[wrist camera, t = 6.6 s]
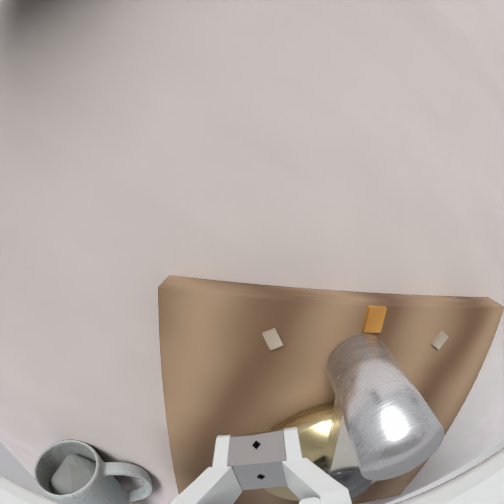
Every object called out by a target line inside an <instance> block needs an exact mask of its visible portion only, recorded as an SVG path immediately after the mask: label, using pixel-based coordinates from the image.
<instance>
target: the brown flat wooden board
mask: <svg viewBox="0 0 504 504" xmlns="http://www.w3.org/2000/svg"><path fill="white" fill-rule="evenodd" d="M158 308H159V335H160V353H161V367H162V380H163V391H164V401H165V410H166V418H167V426H168V434H169V441H170V447H171V454H172V460H173V466H174V472H175V477H176V483H177V488H178V493H179V494H180V493H182V492H183V491H184V490H185V489H186V488H187V487H188V486H189V485H190V484H191V483H192V482H193V481H195V480H196V479H197V478H198V477H199V476H200V475H201V474H202V473H203V472H204V471H205V470H206V469H207V468H208V467H212V465H213V458H214V451H215V443H216V438H217V436H218V435H233V434H248V433H257V432H264V431H270V430H271V429H272V428H273V427H275V426H276V425H277V424H279V423H280V422H282V421H283V420H285V419H286V418H288V417H290V416H292V415H294V414H296V413H298V412H300V411H303V410H305V409H308V408H311V407H314V406H317V405H320V404H324V403H328V402H333V401H335V393H334V390H333V388H332V385H331V382H330V379H329V376H328V373H327V369H326V365H327V360H328V357H329V355H330V354H331V352H332V351H333V349H334V348H335V347H336V346H337V345H338V344H339V343H341V342H342V341H343V340H345V339H347V338H349V337H351V336H354V335H358V334H371V335H374V336H376V337H378V338H379V339H381V341H382V342H383V343H384V344H385V346H386V347H387V348H388V350H389V351H390V353H391V354H392V355H393V357H394V358H395V359H396V361H397V362H398V363H399V365H400V366H401V368H402V369H403V370H404V372H405V373H406V375H407V376H408V377H409V379H410V380H411V382H412V383H413V384H414V386H415V387H416V389H417V390H418V391H419V393H420V394H421V396H422V397H423V399H424V400H425V402H426V403H427V404H428V406H429V407H430V409H431V410H432V412H433V413H434V415H435V416H436V418H437V419H438V421H439V422H440V424H441V425H442V427H443V429H444V435H445V434H446V432H447V431H448V429H449V427H450V426H451V424H452V422H453V421H454V419H455V417H456V416H457V414H458V412H459V411H460V409H461V407H462V405H463V403H464V402H465V400H466V398H467V396H468V394H469V392H470V390H471V388H472V386H473V384H474V382H475V380H476V378H477V376H478V374H479V372H480V369H481V367H482V365H483V363H484V360H485V358H486V356H487V353H488V351H489V348H490V346H491V343H492V341H493V338H494V335H495V333H496V330H497V327H498V324H499V321H500V318H501V315H502V312H503V309H504V306H502V305H500V304H499V303H497V302H495V301H493V300H492V299H490V298H488V297H453V296H424V295H402V294H382V293H364V292H348V291H333V290H319V289H306V288H293V287H281V286H269V285H258V284H247V283H236V282H226V281H216V280H206V279H197V278H187V277H178V276H168V277H167V278H166V279H165V281H164V282H163V283H162V284H161V285H160V286H159V287H158ZM428 459H429V458H428ZM428 459H427V460H428ZM427 460H426V461H427ZM426 461H424V462H423V463H422V464H420V465H419V466H417V467H416V468H414V469H412V470H411V471H409V472H407V473H405V474H402V475H400V476H397V477H394V478H391V479H386V480H378V481H376V482H374V483H373V484H371V485H370V486H369V487H368V488H367V489H366V490H365V491H364V492H362V493H361V494H359V495H357V496H355V497H353V498H351V502H352V504H358V503H364V502H369V501H374V500H379V499H384V498H388V497H392V496H396V495H400V494H401V493H402V491H403V490H404V489H405V488H406V487H407V486H408V484H409V483H410V482H411V481H412V479H413V478H414V477H415V476H416V474H417V473H418V472H419V471H420V469H421V468H422V467H423V465H424V464H425V463H426ZM299 502H300V501H294V500H288V499H284V498H280V497H278V496H275V495H273V494H271V493H269V492H268V491H266V490H265V489H264V488H260V489H250V490H242V493H241V494H240V495H239V497H238V498H237V499H236V501H235V502H234V503H233V504H299Z"/></svg>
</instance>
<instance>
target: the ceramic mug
mask: <svg viewBox="0 0 504 504" xmlns="http://www.w3.org/2000/svg"><path fill="white" fill-rule="evenodd" d="M113 475H125V476H132V477H136V478H140V479H142V480H144V481H143V484H144V486H143V487H141V488H138V489H135V490H130V491H125V490H124V489H123V487H122V486H121V484H120V483H119V482H118V481H117V479H116V478H115V477H114V476H113ZM34 477H35V481H36V483H37V485H38V487H39V488H40V489H41V491H42V492H44V493H45V494H46V495H47V496H48V497H50V498H51V499H54V500H56V501H59V502H62V503H64V504H128V502H133V501H138V500H142V499H144V498H147V497H148V496H149V495H150V494H151V493H152V491H153V486H152V482H151V477H150V475H149V474H148V473H147V471H146V470H144V469H143V468H142V467H139V466H137V465H134V464H131V463H126V462H103V460H102V459H101V457H100V456H99V455H98V453H97V452H96V451H95V450H94V449H93V448H92V447H91V446H90V445H88V444H86V443H84V442H82V441H78V440H63V441H60V442H57V443H54V444H52V445H51V446H49V447H48V448H47V449H45V450H44V451H43V452H42V454H41V455H40V456H39V457H38V460H37V462H36V464H35V468H34Z"/></svg>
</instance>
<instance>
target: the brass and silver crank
mask: <svg viewBox="0 0 504 504" xmlns="http://www.w3.org/2000/svg"><path fill="white" fill-rule="evenodd" d="M326 369H327V373H328V376H329V379H330V382H331V385H332V388H333V390H334V393H335V401H333V402H328V403H324V404H320V405H317V406H314V407H311V408H308V409H305V410H303V411H300V412H298V413H296V414H294V415H292V416H290V417H288V418H286V419H285V420H283V421H282V422H280V423H279V424H277V425H276V426H275V427H273V428H272V429H271V430H278V429H285V428H291V427H297V429H298V435H299V441H300V447H301V453H302V458H307V459H309V460H310V461H311V462H312V463H314V464H315V465H316V466H318V467H319V468H320V469H321V470H323V471H324V472H325V473H327V474H328V475H329V476H331V477H332V478H333V479H335V480H336V481H337V482H339V483H340V484H342V485H343V486H344V487H346V488H347V489H348V491H349V495H350V499H351V498H353V497H355V496H357V495H359V494H361V493H362V492H364V491H365V490H366V489H367V488H368V487H369V486H370V485H371V484H373V483H374V482H376V481H378V480H386V479H391V478H394V477H397V476H400V475H402V474H405V473H407V472H409V471H411V470H412V469H414V468H416V467H417V466H419V465H420V464H422V463H423V462H424V461H426V460H427V459H428V458H429V457H430V456H431V455H432V454H433V453H434V452H435V451H436V450H437V448H438V447H439V446H440V444H441V442H442V440H443V437H444V429H443V427H442V425H441V424H440V422H439V421H438V419H437V418H436V416H435V415H434V413H433V412H432V410H431V409H430V407H429V406H428V404H427V403H426V402H425V400H424V399H423V397H422V396H421V394H420V393H419V391H418V390H417V389H416V387H415V386H414V384H413V383H412V382H411V380H410V379H409V377H408V376H407V375H406V373H405V372H404V370H403V369H402V368H401V366H400V365H399V363H398V362H397V361H396V359H395V358H394V357H393V355H392V354H391V353H390V351H389V350H388V348H387V347H386V346H385V344H384V343H383V342H382V341H381V339H379V338H378V337H376V336H374V335H371V334H358V335H354V336H351V337H349V338H347V339H345V340H343V341H342V342H341V343H339V344H338V345H337V346H336V347H335V348H334V349H333V351H332V352H331V354H330V355H329V357H328V360H327V365H326ZM271 430H270V431H271ZM264 489H265V490H266V491H268V492H269V493H271V494H273V495H275V496H278V497H280V498H284V499H288V500H294V501H301V500H300V499H299V498H298V497H297V496H296V495H295V494H294V493H293V492H292V491H291V490H290V489H289V488H288V486H281V487H270V488H264Z"/></svg>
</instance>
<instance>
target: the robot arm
mask: <svg viewBox="0 0 504 504" xmlns="http://www.w3.org/2000/svg"><path fill="white" fill-rule="evenodd" d="M281 486H288V488H289V489H290V490H291V491H292V492H293V493H294V494H295V495H296V496H297V497H298V498H299V499H300V500H301V501H300V502H299V504H352V502H351V499H350V495H349V491H348V489H347V488H346V487H344V486H343V485H342V484H340V483H339V482H337V481H336V480H335V479H333V478H332V477H331V476H329V475H328V474H327V473H325V472H324V471H323V470H321V469H320V468H319V467H318V466H316V465H315V464H314V463H312V462H311V461H310V460H309V459H307V458H302V453H301V447H300V441H299V435H298V429H297V427H291V428H285V429H278V430H271V431H264V432H257V433H248V434H233V435H218V436H217V438H216V443H215V451H214V458H213V465H212V467H208V468H207V469H206V470H205V471H204V472H203V473H202V474H201V475H200V476H199V477H198V478H197V479H196V480H195V481H193V482H192V483H191V484H190V485H189V486H188V487H187V488H186V489H185V490H184V491H183V492H182V493H180V494H179V495H178V496H177V497H176V498H175V499H174V500H173V501H171V502H170V504H233V503H234V502H235V501H236V499H237V498H238V497H239V495H240V494H241V493H242V490H250V489H260V488H270V487H281ZM0 504H64V503H62V502H59V501H56V500H54V499H51V498H49V497H46V496H44V495H42V494H40V493H37V492H35V491H33V490H31V489H28V488H27V487H25V486H23V485H21V484H18V483H16V482H15V481H13V480H11V479H9V478H7V477H0ZM396 504H504V448H502V449H501V450H500V451H498V452H496V453H495V454H493V455H492V456H490V457H489V458H487V459H486V460H484V461H482V462H481V463H479V464H478V465H476V466H474V467H473V468H471V469H469V470H467V471H466V472H464V473H462V474H460V475H458V476H456V477H455V478H453V479H451V480H449V481H447V482H445V483H443V484H441V485H439V486H437V487H435V488H432V489H430V490H428V491H426V492H424V493H421V494H419V495H417V496H414V497H412V498H409V499H406V500H404V501H401V502H399V503H396Z"/></svg>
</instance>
